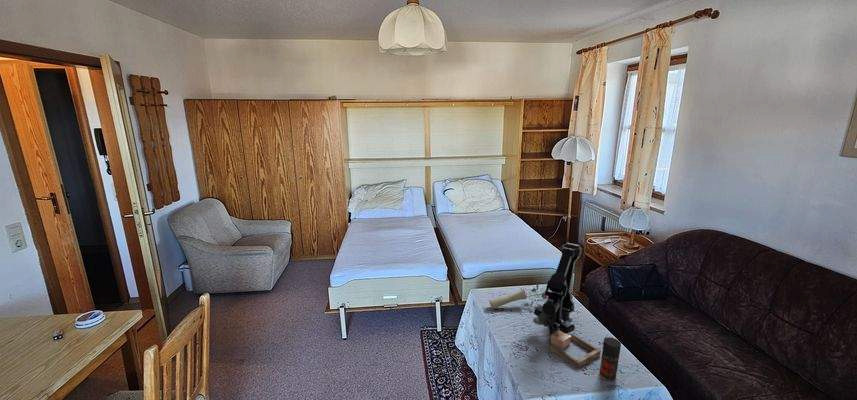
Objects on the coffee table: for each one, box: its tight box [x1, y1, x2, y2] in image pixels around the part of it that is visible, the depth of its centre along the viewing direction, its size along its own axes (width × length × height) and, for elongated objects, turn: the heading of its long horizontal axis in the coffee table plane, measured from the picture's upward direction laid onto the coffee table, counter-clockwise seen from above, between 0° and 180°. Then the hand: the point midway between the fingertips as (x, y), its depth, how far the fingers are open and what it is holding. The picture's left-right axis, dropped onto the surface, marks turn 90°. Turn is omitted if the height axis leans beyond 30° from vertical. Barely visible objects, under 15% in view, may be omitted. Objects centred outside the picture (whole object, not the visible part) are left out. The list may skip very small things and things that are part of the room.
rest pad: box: [533, 316, 542, 325], centre depth 178 cm, size 6×6×1 cm
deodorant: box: [598, 336, 622, 381], centre depth 141 cm, size 6×6×15 cm
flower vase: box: [489, 282, 553, 310], centre depth 191 cm, size 12×12×35 cm
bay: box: [550, 333, 602, 369], centre depth 155 cm, size 15×14×2 cm
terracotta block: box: [550, 329, 572, 350], centre depth 161 cm, size 6×6×4 cm
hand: (551, 335), depth 165 cm, fingers closed
